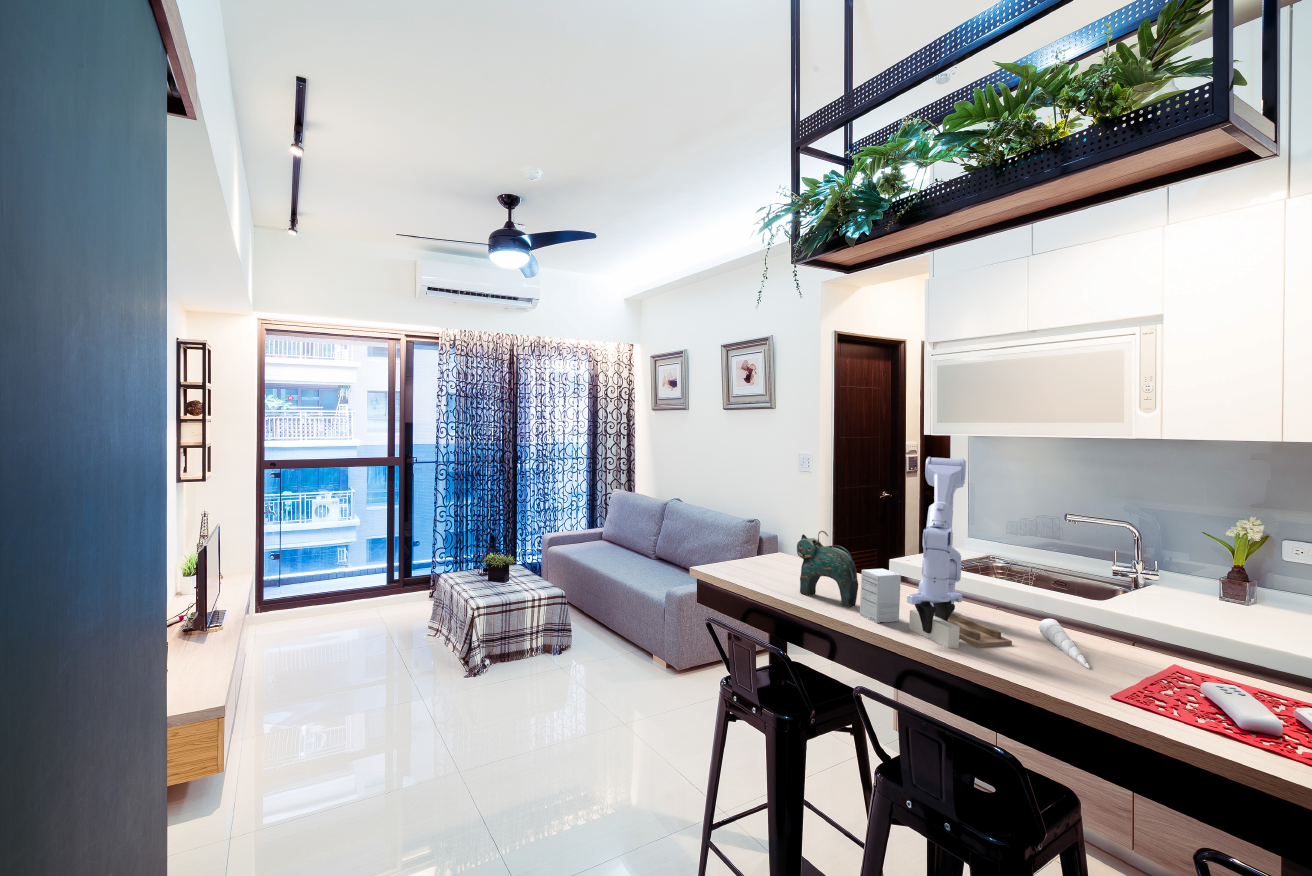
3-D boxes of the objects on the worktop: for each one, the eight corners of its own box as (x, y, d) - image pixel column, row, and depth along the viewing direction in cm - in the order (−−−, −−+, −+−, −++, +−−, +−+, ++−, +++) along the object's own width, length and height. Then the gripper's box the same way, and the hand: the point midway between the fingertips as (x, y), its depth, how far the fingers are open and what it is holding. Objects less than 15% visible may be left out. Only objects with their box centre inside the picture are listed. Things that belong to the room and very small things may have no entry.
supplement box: (881, 613, 176) (883, 567, 175) (899, 621, 169) (902, 574, 168) (858, 615, 173) (860, 568, 173) (876, 623, 166) (878, 575, 166)
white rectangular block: (909, 629, 163) (909, 610, 163) (919, 628, 164) (919, 609, 164) (947, 648, 150) (948, 627, 149) (958, 647, 150) (959, 626, 150)
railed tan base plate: (915, 618, 172) (916, 609, 172) (946, 617, 175) (947, 608, 174) (977, 647, 151) (978, 636, 151) (1011, 644, 153) (1012, 634, 153)
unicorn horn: (1069, 668, 140) (1070, 646, 140) (1037, 635, 163) (1038, 616, 163) (1094, 671, 139) (1095, 649, 139) (1058, 637, 162) (1059, 618, 161)
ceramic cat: (792, 592, 194) (795, 527, 194) (806, 589, 198) (809, 525, 198) (848, 609, 179) (851, 538, 178) (862, 606, 183) (865, 536, 182)
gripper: (921, 581, 150) (918, 638, 151) (972, 579, 154) (969, 635, 155) (902, 574, 157) (899, 629, 158) (951, 572, 161) (948, 626, 162)
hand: (933, 631), depth 157 cm, fingers closed on white rectangular block, 3 cm apart
